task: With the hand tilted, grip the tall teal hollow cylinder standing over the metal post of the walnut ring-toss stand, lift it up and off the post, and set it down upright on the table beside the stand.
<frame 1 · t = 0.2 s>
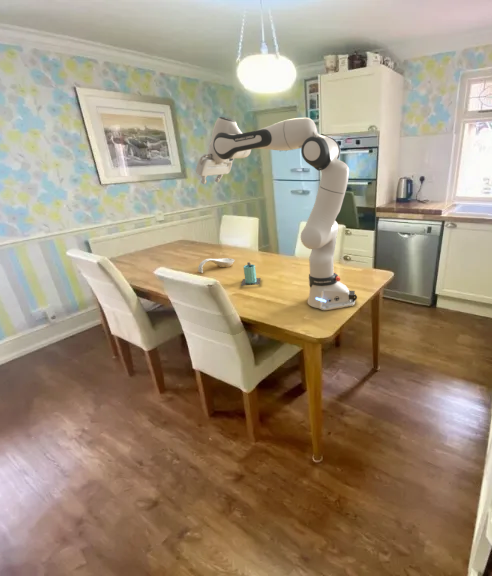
hand: (210, 182, 151), 54 cm above the table, tool tilted 30°, fingers open, 8 cm apart
teal hollow cylinder: (251, 281, 176), point 1 cm above the table, touching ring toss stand
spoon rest: (217, 268, 203), on the table
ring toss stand: (251, 284, 176), on the table
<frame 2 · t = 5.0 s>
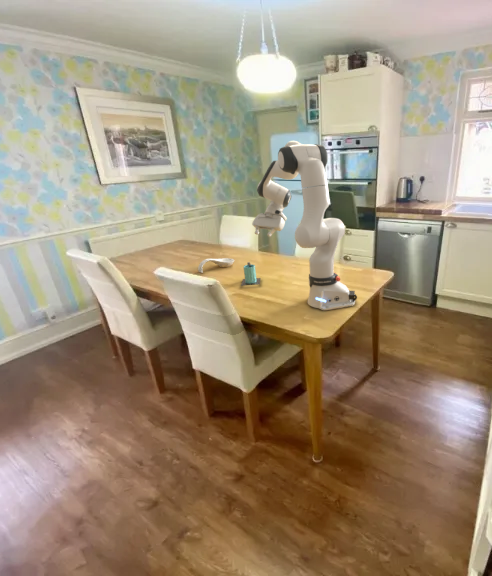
hand: (262, 234, 176), 25 cm above the table, tool tilted 45°, fingers open, 8 cm apart
nothing on the table moved.
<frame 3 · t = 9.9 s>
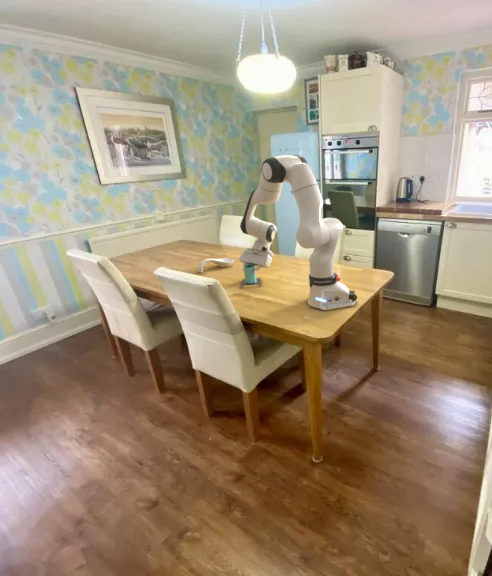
hand: (249, 271, 173), 7 cm above the table, tool tilted 45°, fingers closed on teal hollow cylinder, 6 cm apart
teal hollow cylinder: (251, 281, 176), point 2 cm above the table, touching gripper, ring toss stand
everything else where it was.
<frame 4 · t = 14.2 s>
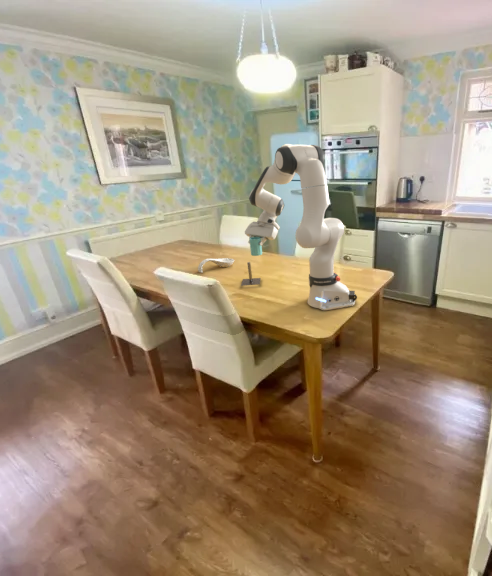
hand: (254, 244, 173), 21 cm above the table, tool tilted 45°, fingers closed on teal hollow cylinder, 6 cm apart
teal hollow cylinder: (256, 254, 176), point 15 cm above the table, touching gripper
everything else where it was.
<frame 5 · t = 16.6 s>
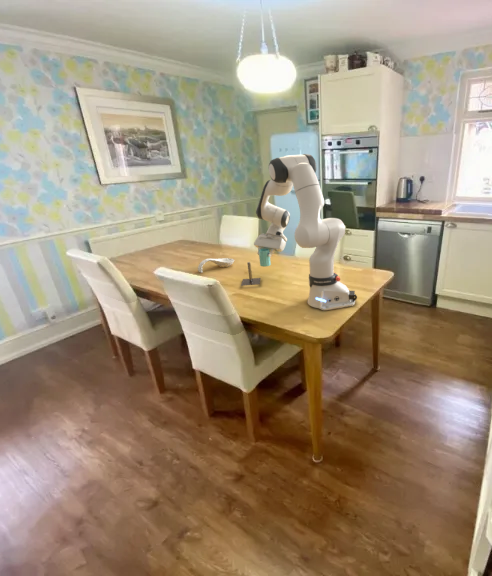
hand: (263, 255, 182), 13 cm above the table, tool tilted 45°, fingers closed on teal hollow cylinder, 6 cm apart
teal hollow cylinder: (265, 264, 184), point 7 cm above the table, touching gripper
everything else where it was.
when the fingers open (6 cm above the table, at t = 18.7 s): teal hollow cylinder stays where it is, on the table.
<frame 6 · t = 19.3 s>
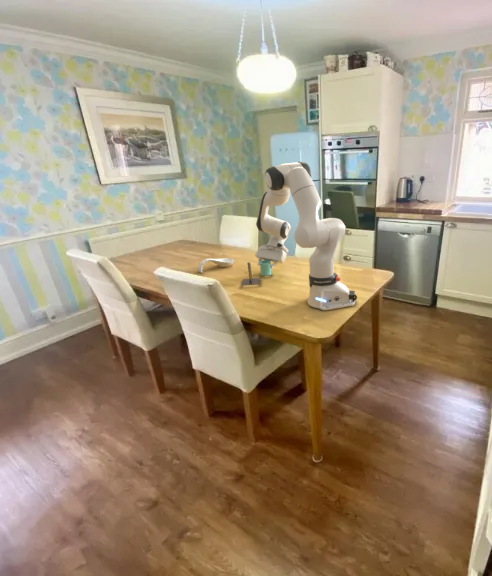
hand: (265, 266, 184), 6 cm above the table, tool tilted 45°, fingers open, 8 cm apart
teal hollow cylinder: (266, 276, 187), on the table
everything else where it was.
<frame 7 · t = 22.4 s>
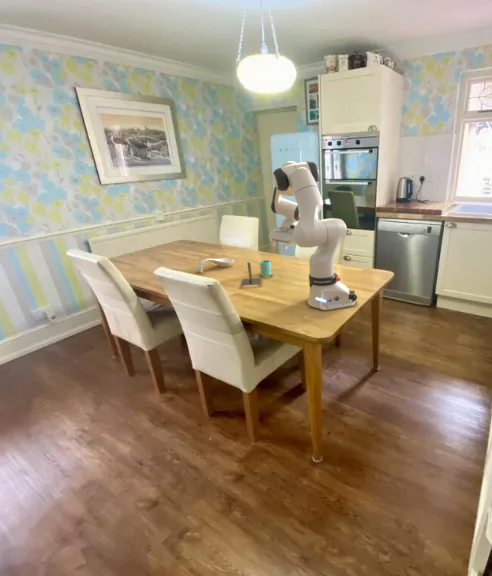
hand: (278, 247, 191), 14 cm above the table, tool tilted 45°, fingers open, 8 cm apart
nothing on the table moved.
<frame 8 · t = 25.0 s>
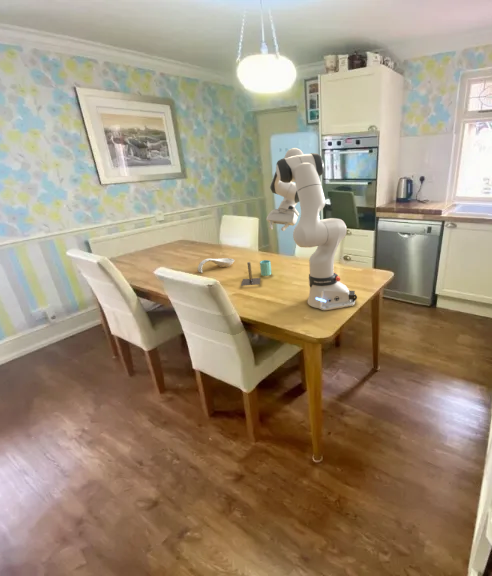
hand: (276, 229, 187), 25 cm above the table, tool tilted 45°, fingers open, 8 cm apart
nothing on the table moved.
at the end: teal hollow cylinder inside the target area (0.1 cm from its centre), on the table; teal hollow cylinder tilted 0°; the gripper is holding nothing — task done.
